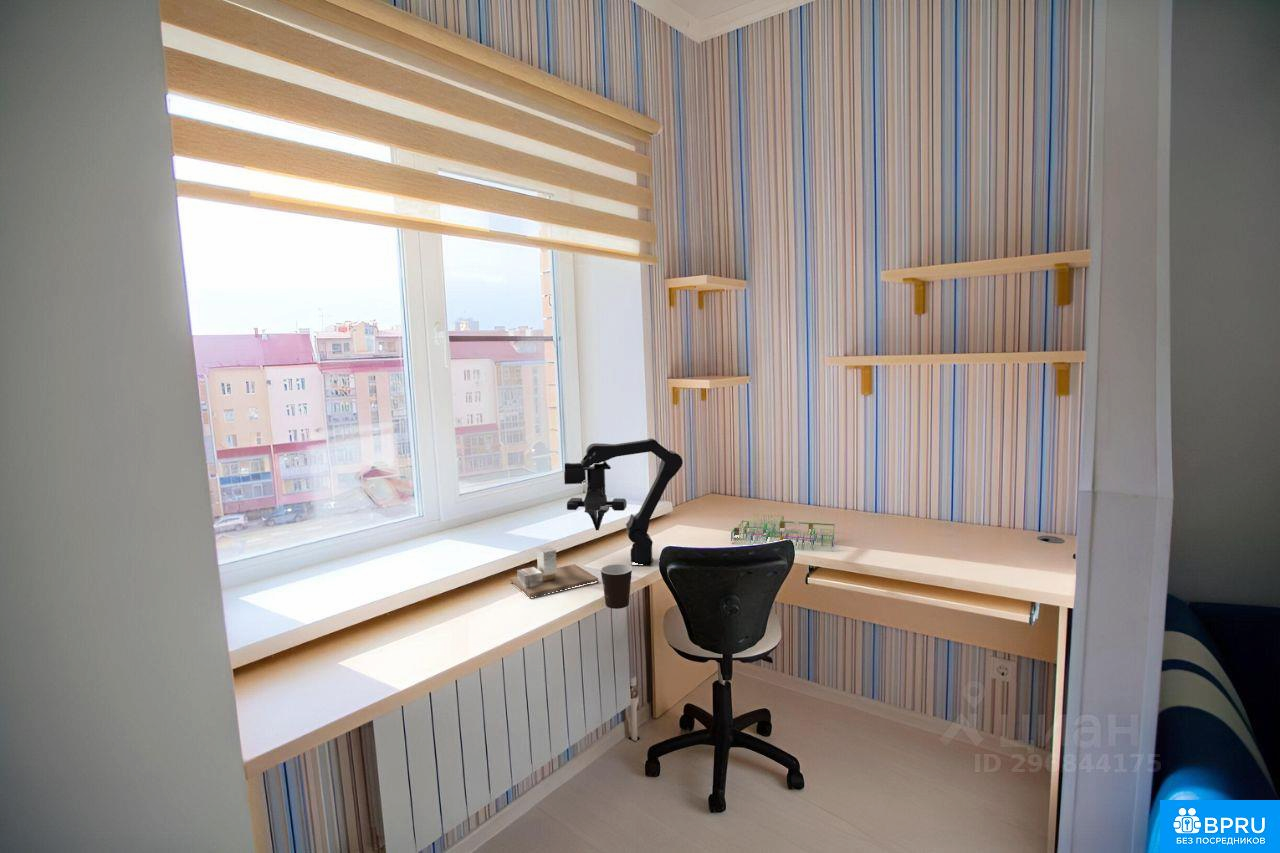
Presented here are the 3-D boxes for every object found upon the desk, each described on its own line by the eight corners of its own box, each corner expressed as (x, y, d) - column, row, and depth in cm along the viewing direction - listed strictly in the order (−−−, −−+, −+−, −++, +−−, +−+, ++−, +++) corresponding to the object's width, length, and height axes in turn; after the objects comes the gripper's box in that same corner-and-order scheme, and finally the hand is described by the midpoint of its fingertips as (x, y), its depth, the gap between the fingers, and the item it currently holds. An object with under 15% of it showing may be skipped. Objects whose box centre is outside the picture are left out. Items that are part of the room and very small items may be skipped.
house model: (730, 546, 228) (730, 533, 228) (744, 525, 256) (744, 513, 256) (832, 553, 217) (832, 540, 216) (835, 531, 245) (835, 518, 244)
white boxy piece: (550, 574, 195) (549, 546, 194) (556, 579, 191) (555, 550, 190) (522, 580, 191) (521, 551, 190) (528, 585, 186) (527, 555, 185)
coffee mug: (626, 611, 170) (625, 575, 169) (596, 608, 173) (595, 572, 172) (640, 596, 181) (639, 562, 180) (612, 593, 184) (611, 559, 183)
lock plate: (574, 568, 206) (574, 553, 205) (598, 582, 192) (597, 566, 192) (509, 582, 194) (509, 566, 194) (529, 598, 181) (529, 581, 180)
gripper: (561, 487, 199) (563, 536, 200) (620, 488, 196) (621, 537, 198) (570, 480, 210) (571, 527, 211) (626, 481, 207) (627, 528, 209)
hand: (597, 530), depth 207 cm, fingers closed
